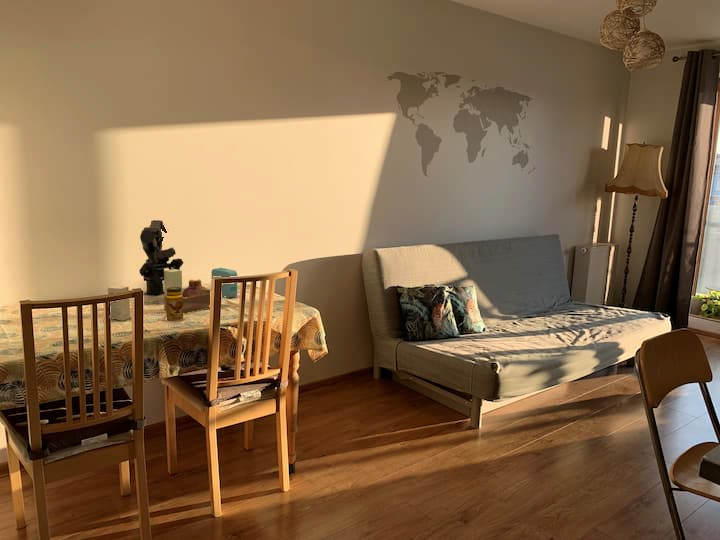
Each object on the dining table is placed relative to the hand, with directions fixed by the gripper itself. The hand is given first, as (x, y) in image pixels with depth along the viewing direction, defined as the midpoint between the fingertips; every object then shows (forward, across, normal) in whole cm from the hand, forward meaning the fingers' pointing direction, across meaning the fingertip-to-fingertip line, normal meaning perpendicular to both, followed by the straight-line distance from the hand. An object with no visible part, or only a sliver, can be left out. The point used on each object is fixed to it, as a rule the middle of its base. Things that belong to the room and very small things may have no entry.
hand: (171, 282), depth 245 cm
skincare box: (+11, -29, +1) cm, 31 cm away
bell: (+4, +16, +9) cm, 19 cm away
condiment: (+21, -16, -9) cm, 28 cm away
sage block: (+7, 0, +5) cm, 9 cm away
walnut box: (+15, -1, -4) cm, 16 cm away
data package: (+11, +23, +2) cm, 26 cm away
